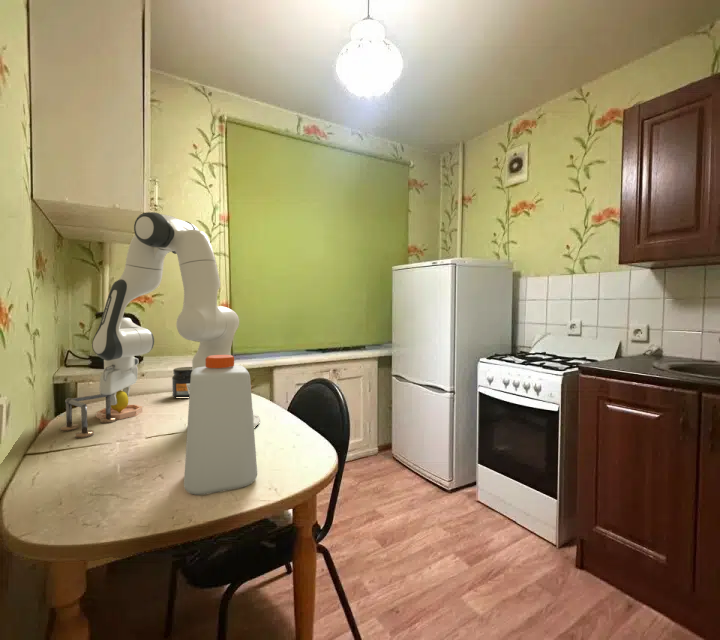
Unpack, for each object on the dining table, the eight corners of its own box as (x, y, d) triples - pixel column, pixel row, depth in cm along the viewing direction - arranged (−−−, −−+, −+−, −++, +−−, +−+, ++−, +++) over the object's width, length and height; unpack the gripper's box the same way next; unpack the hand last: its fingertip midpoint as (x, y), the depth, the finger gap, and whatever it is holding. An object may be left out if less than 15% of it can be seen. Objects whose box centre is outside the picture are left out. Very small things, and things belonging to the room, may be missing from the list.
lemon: (106, 413, 132) (106, 390, 132) (123, 409, 137) (122, 387, 137) (115, 415, 130) (115, 392, 129) (131, 411, 135) (131, 389, 134)
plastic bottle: (185, 470, 89) (183, 353, 88) (250, 460, 95) (250, 350, 94) (183, 501, 75) (181, 363, 74) (260, 486, 81) (259, 359, 80)
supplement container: (195, 399, 156) (194, 370, 156) (168, 399, 155) (168, 370, 154) (202, 393, 166) (202, 366, 166) (177, 393, 165) (176, 366, 165)
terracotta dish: (146, 408, 141) (146, 404, 141) (131, 419, 128) (131, 413, 128) (109, 410, 139) (109, 405, 139) (90, 420, 126) (90, 415, 126)
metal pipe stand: (118, 419, 128) (118, 390, 128) (88, 437, 110) (87, 404, 110) (79, 420, 126) (78, 391, 126) (41, 440, 108) (40, 406, 108)
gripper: (114, 367, 123) (114, 409, 124) (140, 358, 143) (141, 394, 144) (93, 368, 122) (94, 410, 123) (122, 359, 142) (123, 395, 143)
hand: (119, 401), depth 133 cm, fingers open, 7 cm apart
